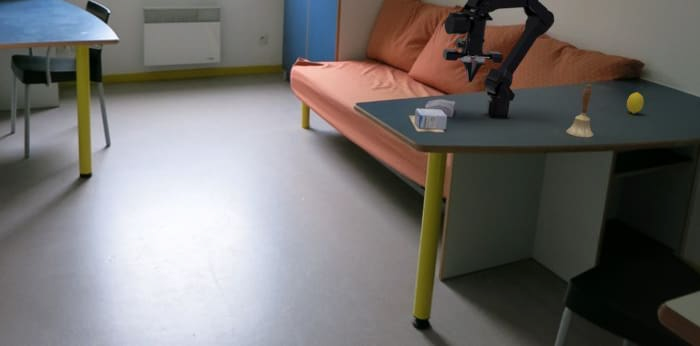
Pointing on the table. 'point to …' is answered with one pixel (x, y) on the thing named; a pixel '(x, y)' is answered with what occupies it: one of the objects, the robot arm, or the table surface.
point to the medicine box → (430, 118)
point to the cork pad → (423, 128)
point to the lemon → (635, 102)
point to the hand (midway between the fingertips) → (469, 82)
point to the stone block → (442, 106)
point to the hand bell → (582, 118)
